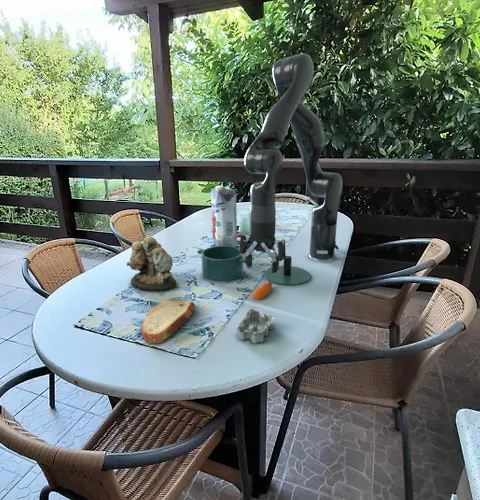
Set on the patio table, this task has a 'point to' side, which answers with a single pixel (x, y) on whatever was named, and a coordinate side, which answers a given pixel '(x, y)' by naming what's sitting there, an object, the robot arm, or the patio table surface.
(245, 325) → the egg carton
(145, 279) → the owl figurine
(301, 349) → the patio table surface
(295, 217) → the patio table surface
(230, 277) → the pot
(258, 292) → the carrot
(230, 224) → the juice carton
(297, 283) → the lid
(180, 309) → the bread slice
